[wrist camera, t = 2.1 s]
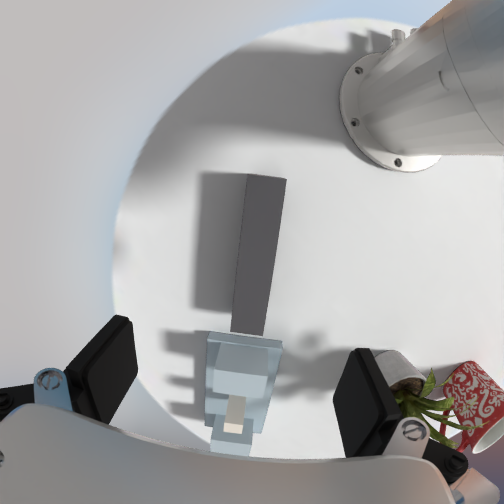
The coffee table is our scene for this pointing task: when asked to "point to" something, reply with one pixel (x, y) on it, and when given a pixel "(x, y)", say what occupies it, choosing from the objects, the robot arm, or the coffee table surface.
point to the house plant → (416, 393)
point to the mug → (475, 406)
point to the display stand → (238, 389)
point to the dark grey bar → (257, 252)
